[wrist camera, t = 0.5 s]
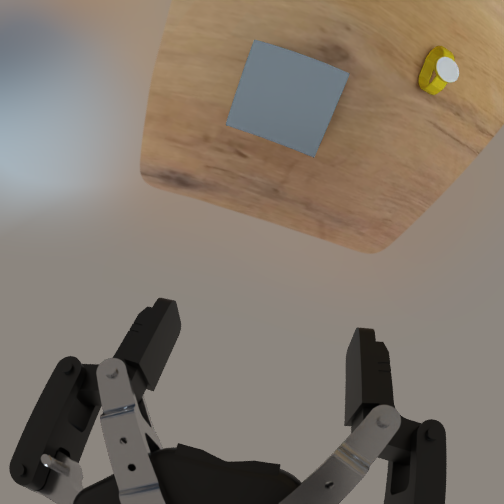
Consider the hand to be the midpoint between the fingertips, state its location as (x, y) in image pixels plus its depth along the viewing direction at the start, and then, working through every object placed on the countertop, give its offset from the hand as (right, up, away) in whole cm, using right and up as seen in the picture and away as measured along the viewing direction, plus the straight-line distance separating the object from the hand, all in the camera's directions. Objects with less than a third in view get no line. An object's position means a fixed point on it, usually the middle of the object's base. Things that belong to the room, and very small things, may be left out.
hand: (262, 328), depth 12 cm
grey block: (+3, +18, +13) cm, 23 cm away
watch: (+19, +24, +11) cm, 33 cm away
